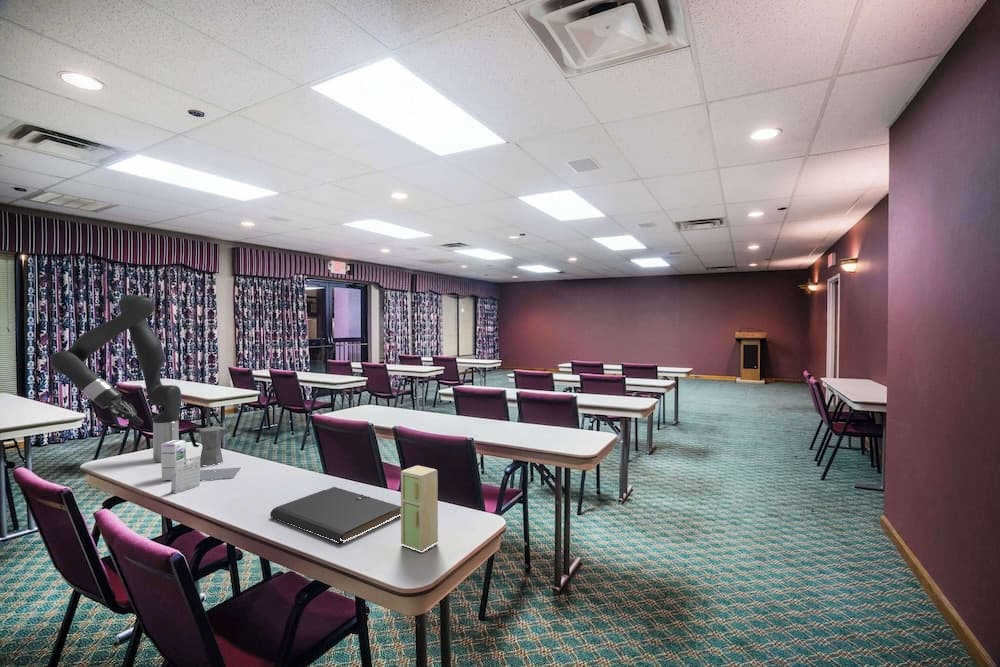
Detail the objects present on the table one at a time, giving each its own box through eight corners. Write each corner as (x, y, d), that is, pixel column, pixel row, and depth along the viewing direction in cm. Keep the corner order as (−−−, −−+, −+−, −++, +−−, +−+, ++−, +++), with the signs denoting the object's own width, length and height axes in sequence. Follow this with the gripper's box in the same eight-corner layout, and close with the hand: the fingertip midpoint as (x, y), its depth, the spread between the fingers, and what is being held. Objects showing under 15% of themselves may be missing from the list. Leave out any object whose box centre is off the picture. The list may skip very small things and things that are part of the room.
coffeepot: (231, 459, 209) (231, 419, 209) (224, 465, 200) (224, 423, 200) (193, 461, 205) (193, 420, 205) (183, 467, 196) (183, 425, 196)
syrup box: (175, 480, 179) (176, 443, 179) (160, 480, 179) (160, 443, 179) (186, 476, 185) (186, 439, 185) (171, 475, 185) (171, 439, 185)
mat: (179, 482, 177) (179, 481, 177) (191, 472, 190) (191, 471, 190) (233, 478, 183) (233, 477, 183) (240, 468, 196) (240, 467, 196)
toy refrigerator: (398, 547, 127) (398, 471, 127) (416, 537, 133) (417, 464, 133) (419, 555, 123) (420, 476, 122) (437, 545, 129) (438, 469, 128)
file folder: (402, 505, 148) (339, 534, 128) (402, 517, 148) (339, 548, 128) (334, 485, 166) (270, 508, 145) (334, 496, 166) (270, 521, 145)
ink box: (170, 493, 166) (170, 461, 166) (195, 484, 175) (195, 454, 175) (175, 494, 165) (175, 462, 165) (200, 485, 174) (200, 455, 174)
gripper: (102, 387, 169) (142, 419, 173) (118, 384, 182) (155, 414, 186) (84, 403, 167) (125, 434, 171) (102, 398, 180) (139, 428, 184)
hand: (140, 424), depth 178 cm, fingers closed
